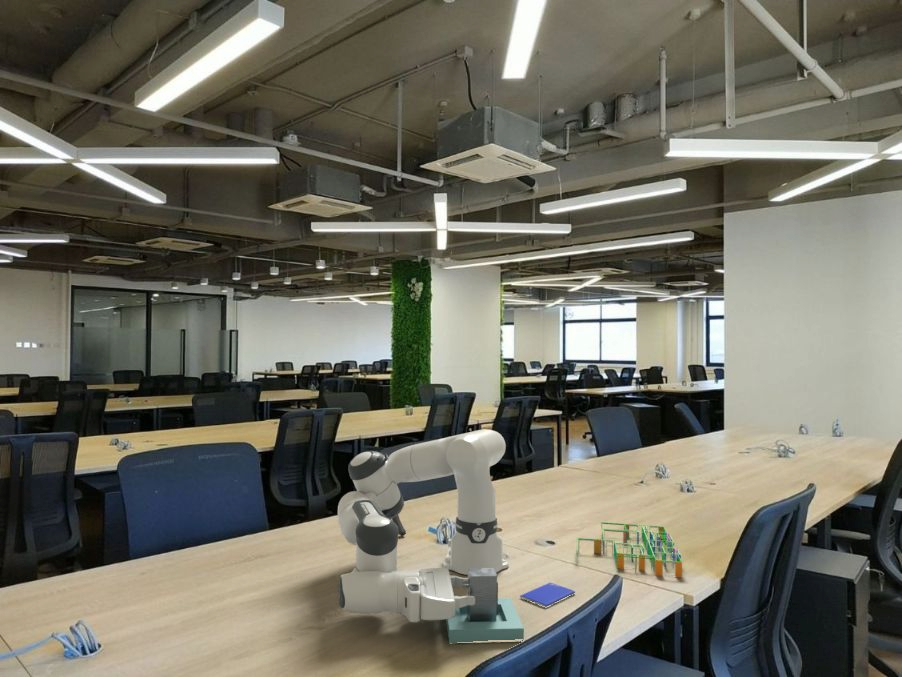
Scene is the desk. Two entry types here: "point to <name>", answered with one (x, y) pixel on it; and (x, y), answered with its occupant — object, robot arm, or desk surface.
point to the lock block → (483, 595)
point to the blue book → (547, 594)
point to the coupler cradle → (486, 625)
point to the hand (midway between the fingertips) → (472, 590)
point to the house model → (655, 563)
